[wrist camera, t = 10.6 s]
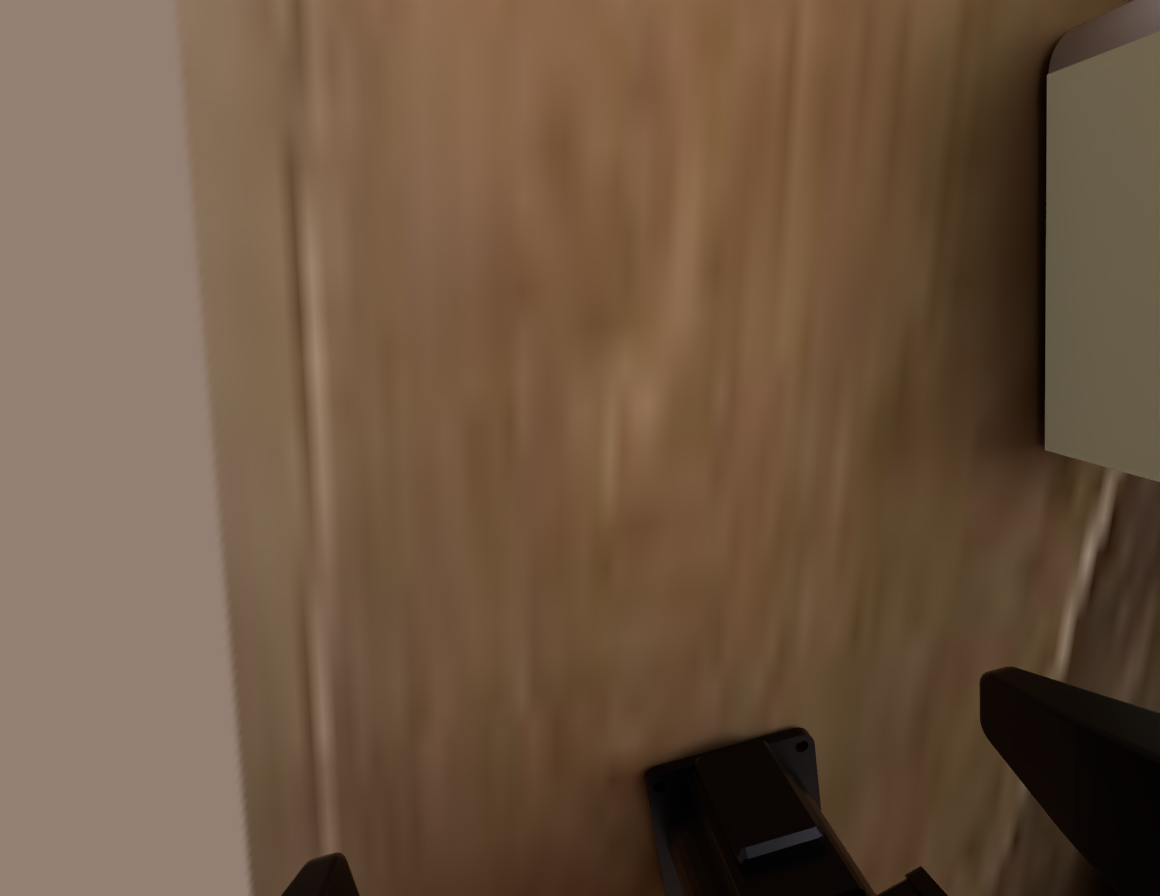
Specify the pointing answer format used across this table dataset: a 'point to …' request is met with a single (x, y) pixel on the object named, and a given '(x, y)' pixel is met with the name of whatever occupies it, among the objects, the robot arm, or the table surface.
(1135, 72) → the stool leg
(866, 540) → the table surface
